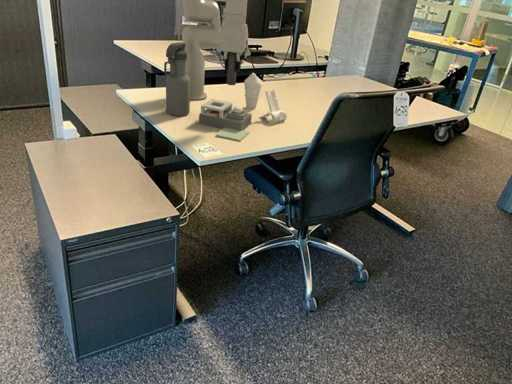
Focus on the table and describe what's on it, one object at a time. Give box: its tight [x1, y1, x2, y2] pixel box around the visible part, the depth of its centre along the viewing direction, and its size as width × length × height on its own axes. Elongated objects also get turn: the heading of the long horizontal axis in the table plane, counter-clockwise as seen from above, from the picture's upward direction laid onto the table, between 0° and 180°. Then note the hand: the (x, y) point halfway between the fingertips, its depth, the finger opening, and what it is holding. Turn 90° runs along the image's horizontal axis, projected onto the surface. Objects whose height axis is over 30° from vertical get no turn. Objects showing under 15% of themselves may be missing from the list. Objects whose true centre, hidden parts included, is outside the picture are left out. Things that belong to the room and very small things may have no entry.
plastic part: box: [258, 89, 288, 125], centre depth 179 cm, size 8×10×12 cm
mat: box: [215, 128, 250, 142], centre depth 161 cm, size 10×10×1 cm
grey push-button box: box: [198, 98, 253, 131], centre depth 170 cm, size 18×12×7 cm, turn 72°
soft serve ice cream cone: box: [243, 72, 263, 110], centre depth 190 cm, size 8×8×16 cm
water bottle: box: [163, 41, 191, 117], centre depth 171 cm, size 10×10×28 cm
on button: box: [233, 106, 244, 114], centre depth 167 cm, size 4×4×2 cm
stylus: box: [226, 52, 237, 86], centre depth 160 cm, size 3×3×12 cm
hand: (232, 70), depth 161 cm, fingers closed on stylus, 3 cm apart
